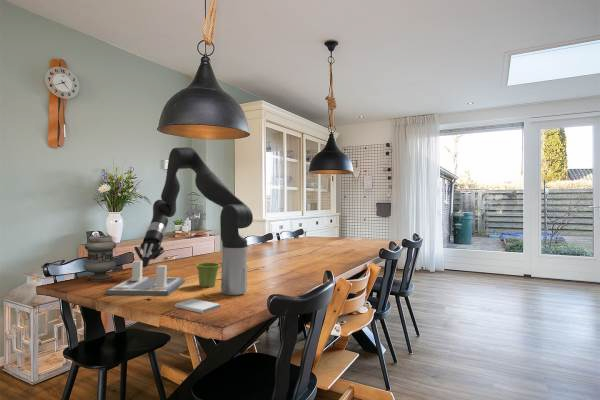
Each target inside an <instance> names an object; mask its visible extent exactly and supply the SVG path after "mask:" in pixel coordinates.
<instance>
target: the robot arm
mask: <svg viewBox="0 0 600 400" xmlns="http://www.w3.org/2000/svg"><path fill="white" fill-rule="evenodd" d="M166 168H167V169H166V177H165V182H164V186H163V188H162V191H161V195H160V199H157V200H155V201H154V203H153V205H152V219H151V222H150V224H149V226H148V227H147V230H146V232H145V235H144V237H143V240H142V242H141V244H140V245H139V246H138V247H137V246H134V251H135V252H136V255H137V257H138V258H139V260H140V261H143V265H142V269H145V268H147V267H148V266H149V263H150V261H151V260H156V259H157V258H159V256H161V255H162V254H164V253H165V250H164V247H163V246H161V244H162V242H163V240H164V236H165V235H166V234H165V233H166V228H167V226H168V223H169V219H168V218H172V217H173V216H175V214H176V212H177V199H178V195H179V193H180V189H181V185H180V181H179V179H178V176H177V173H178V171H179V170H185V169H191V170H192V171H193V172H194V173H195V178H194V179H195V181H194V182H195V186H196V188H197V190H198V191H199V192H200V194H202V195H203V197H205V198H206V199H207V200H209V201H210V202H212V203H213V204H216V205H217V206H219V207H221V208H222V209H221V211H220V217H219V218H220V219H219V221H220V222H219V226H220V229H219V231H220V241H221V245H222V247H221V278H220V280H221V282H220V283H221V285H220V293H221V294H223V295H227V296H238V295H245V294H246V293H247V289H248V288H247V286H248V283H247V282H248V266H247V265H248V264H247V261H248V259H247V258H248V256H247V255H248V240H247V239H246V238H244V237H242V236H241V235H240V234H239V229H241V230H242V229H245V228H249V227H250V226H251V225H252V224H253V219H254V218H253V212H252V210H251V208H250V207H249V206H248V205H247V204H245V203H244V202H243V201H242V200H241V199H240V198H238V197H237V196H236V195H235V194H234V193H233V192H232V191H231V190H230V189H229V188H228V187H227V186H226V185H225V184H224V183H223V181H222V180H221V179H220V178H219V177H218V176H217V175H216V174H215V173H214V172H213V171H212V170H211V169H210V167H209V166H208V165H207V164H206V162H205V161H204V160H203V159H202V157H201V156H200V154H199V153H198V151H196V150H195V149H194V148H193V147H173V148H172V149H171V150H170V152H169V156H168V161H167V167H166ZM141 251H142V253H141Z"/></svg>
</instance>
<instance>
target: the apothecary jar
mask: <svg viewBox="0 0 600 400" xmlns="http://www.w3.org/2000/svg"><path fill="white" fill-rule="evenodd" d="M116 247H117V243H116V242H115V241H114V240H113V237H112V235H96V236H94V235H93V236H90V237H89V240H88V241H87V242H85V244H84V249H85V250H86V251H87V260H86V262H85V263H84V265H83V266H84V267H83V268H84V270H85V271H86V272H89V273H92V274H93V275H90V276H88V277H86V281H91V282H99V281H101V282H102V281H109V280H111V279H113V277H114V276H113V275H111V274H108V272H110V271H112V270H114V269H115V268H116V266H117V262H116V260H114V250H115V248H116Z"/></svg>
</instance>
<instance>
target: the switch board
mask: <svg viewBox="0 0 600 400" xmlns="http://www.w3.org/2000/svg"><path fill="white" fill-rule="evenodd" d="M142 277H143V279H142V280H140V281H131V279H132V277H130V278H129V279H127V280H124V281H123V282H121V283H119V284H117V285H115V286H111V287H110V288H108V289H106V290H105V295H112V296H113V295H114V296H117V295H118V296H119V295H122V296H169V295H171V294H172V293H173V292H174V291H176V290H177V289H179V288H180V287H181V286H183V285H184V284H185V283H186V278H181V277H169V276H168V277H167V279H166V283H167V286H165V287H164V288H155V285H156V277H155V278H152V277H151V278H149V277H148V276H142Z"/></svg>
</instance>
